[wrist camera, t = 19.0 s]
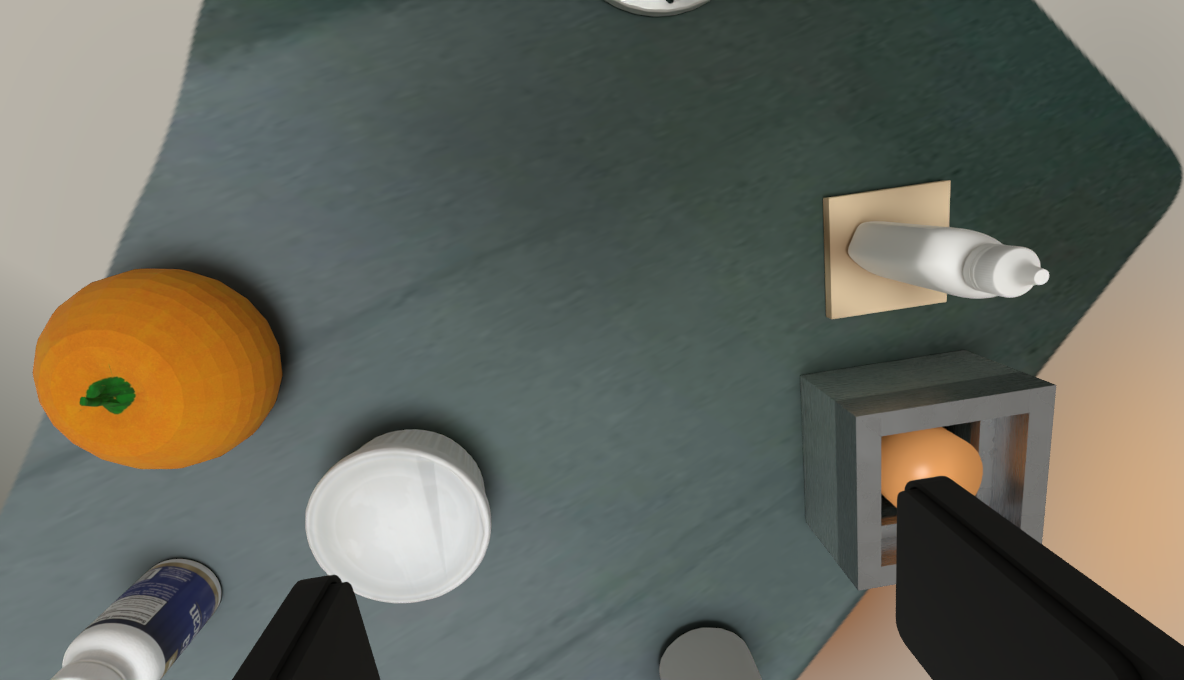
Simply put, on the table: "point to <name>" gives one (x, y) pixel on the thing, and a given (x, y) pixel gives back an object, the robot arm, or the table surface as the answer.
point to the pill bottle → (145, 625)
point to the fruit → (157, 368)
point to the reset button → (927, 460)
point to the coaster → (853, 284)
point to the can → (708, 657)
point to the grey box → (910, 403)
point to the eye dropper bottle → (946, 259)
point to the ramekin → (401, 517)
